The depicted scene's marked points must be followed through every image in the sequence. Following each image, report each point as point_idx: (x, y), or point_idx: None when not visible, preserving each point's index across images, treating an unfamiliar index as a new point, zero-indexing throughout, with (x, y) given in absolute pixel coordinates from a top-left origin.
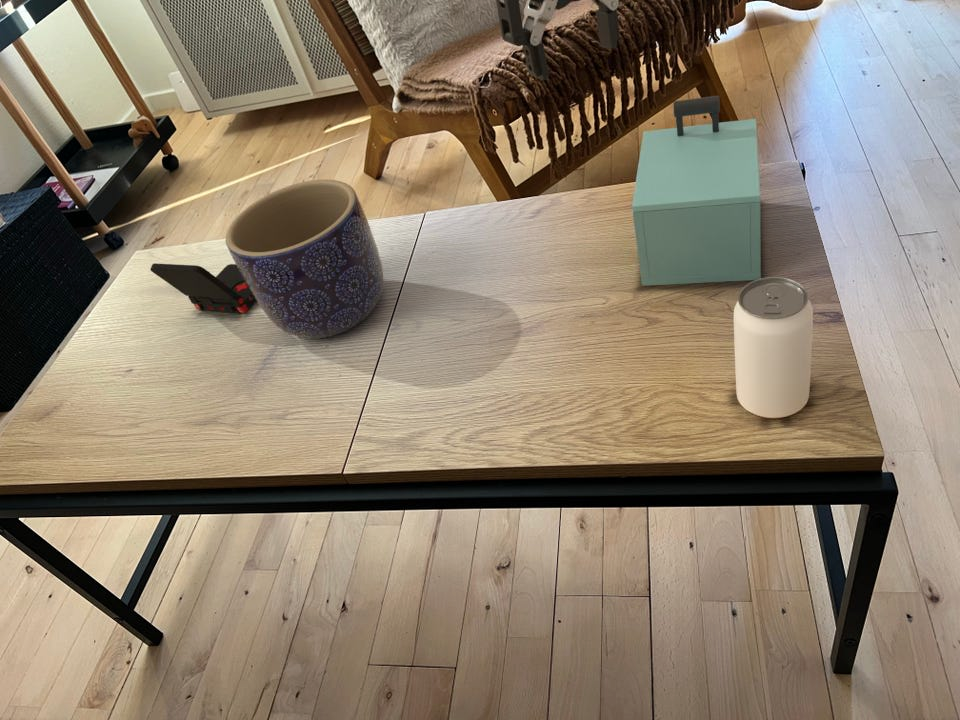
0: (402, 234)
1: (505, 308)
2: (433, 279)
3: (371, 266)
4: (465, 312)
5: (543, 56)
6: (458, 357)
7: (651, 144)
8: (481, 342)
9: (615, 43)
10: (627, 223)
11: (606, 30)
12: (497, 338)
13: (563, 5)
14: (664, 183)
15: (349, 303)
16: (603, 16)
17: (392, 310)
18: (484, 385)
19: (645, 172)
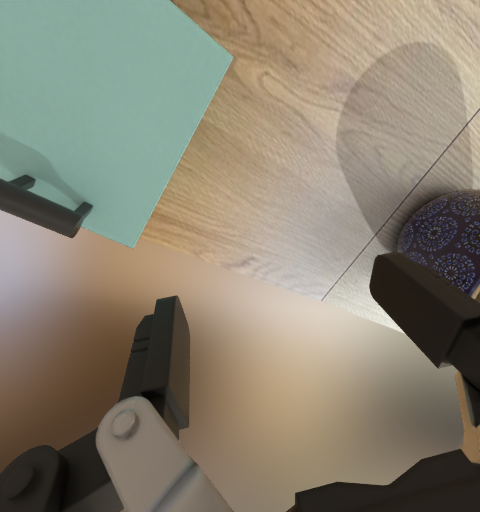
0: (340, 294)
1: (340, 139)
2: (357, 224)
3: (448, 221)
4: (367, 159)
5: (434, 287)
6: (411, 93)
7: (135, 210)
8: (384, 101)
9: (161, 302)
10: (183, 196)
11: (177, 343)
12: (371, 96)
13: (434, 470)
14: (161, 84)
15: (472, 194)
16: (178, 389)
17: (403, 203)
18: (424, 23)
19: (173, 141)
